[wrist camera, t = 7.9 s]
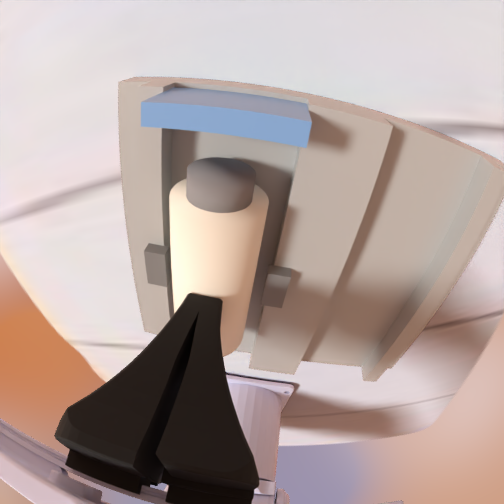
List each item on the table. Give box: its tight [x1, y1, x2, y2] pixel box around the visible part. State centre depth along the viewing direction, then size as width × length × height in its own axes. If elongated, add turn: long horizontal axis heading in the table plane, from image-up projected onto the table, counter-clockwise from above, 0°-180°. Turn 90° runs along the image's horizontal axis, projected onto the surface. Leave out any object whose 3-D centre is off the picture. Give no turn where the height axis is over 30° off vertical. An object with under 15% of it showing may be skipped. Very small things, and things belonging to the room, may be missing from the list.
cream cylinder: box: [169, 157, 269, 357], centre depth 14 cm, size 10×4×4 cm, turn 172°
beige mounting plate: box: [118, 77, 504, 381], centre depth 14 cm, size 16×18×4 cm
